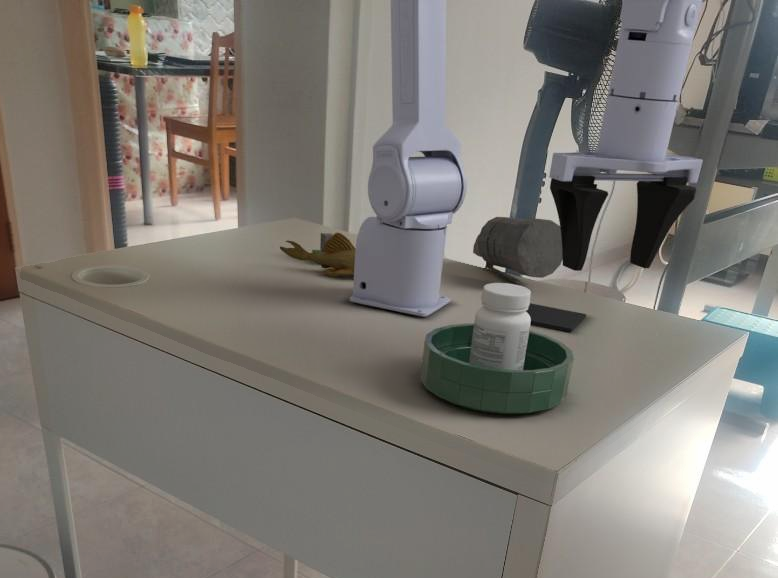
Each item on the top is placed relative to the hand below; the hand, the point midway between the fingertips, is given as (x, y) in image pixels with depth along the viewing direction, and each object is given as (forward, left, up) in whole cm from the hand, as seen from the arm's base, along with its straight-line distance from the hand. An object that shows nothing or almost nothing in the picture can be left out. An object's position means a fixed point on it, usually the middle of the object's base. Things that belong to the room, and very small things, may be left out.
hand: (606, 266), depth 76 cm
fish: (-36, +16, -10) cm, 41 cm away
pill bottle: (-6, -11, -10) cm, 15 cm away
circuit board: (-38, +26, -8) cm, 47 cm away
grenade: (-11, +25, -5) cm, 28 cm away
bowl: (-6, -11, -10) cm, 16 cm away
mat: (-8, +15, -10) cm, 19 cm away
